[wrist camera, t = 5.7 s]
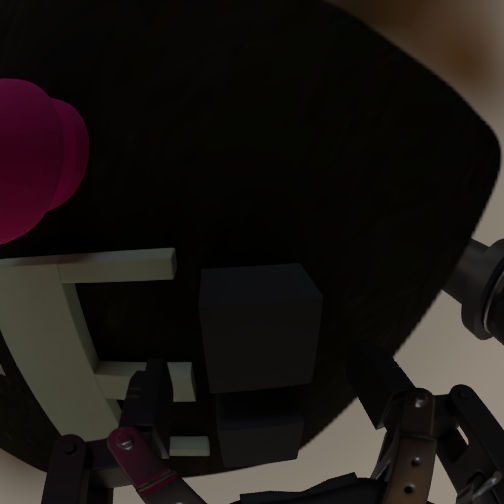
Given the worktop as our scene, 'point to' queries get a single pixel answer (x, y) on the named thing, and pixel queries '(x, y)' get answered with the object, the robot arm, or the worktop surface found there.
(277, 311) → the dark charcoal cube
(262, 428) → the black block
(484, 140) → the worktop surface
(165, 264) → the pale green e-shaped block
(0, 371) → the stacked layers on plate
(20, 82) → the pepper mill
